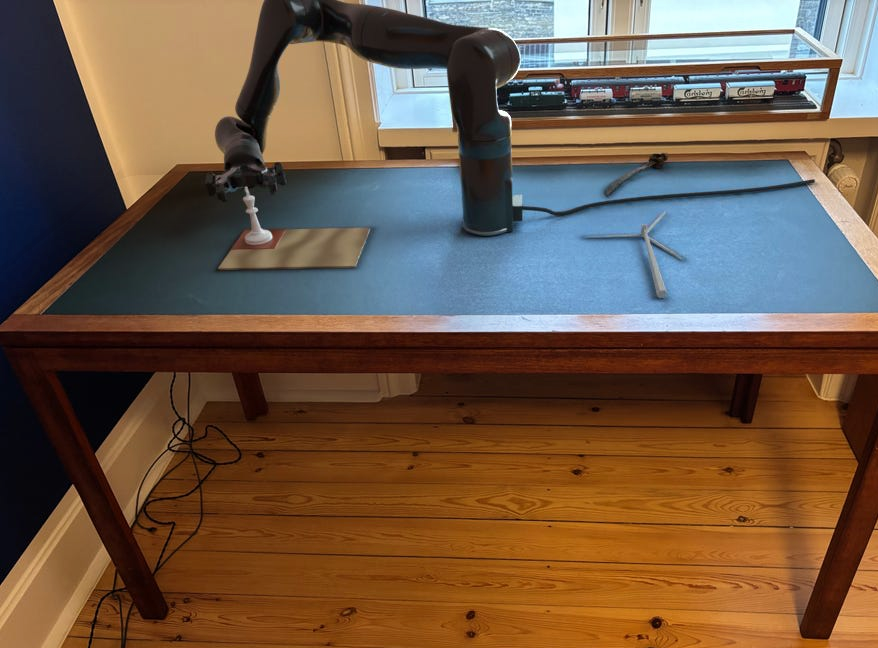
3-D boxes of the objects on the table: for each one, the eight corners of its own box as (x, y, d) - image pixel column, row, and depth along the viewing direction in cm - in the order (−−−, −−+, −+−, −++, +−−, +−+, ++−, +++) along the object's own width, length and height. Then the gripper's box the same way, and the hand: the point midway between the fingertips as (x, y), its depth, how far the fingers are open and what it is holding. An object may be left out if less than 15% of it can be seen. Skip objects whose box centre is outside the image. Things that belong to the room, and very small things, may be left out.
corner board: (370, 229, 135) (370, 226, 135) (355, 267, 123) (355, 265, 122) (245, 232, 136) (245, 229, 136) (218, 270, 124) (217, 267, 124)
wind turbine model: (696, 300, 110) (666, 212, 134) (697, 287, 108) (667, 200, 132) (592, 303, 111) (581, 215, 135) (593, 290, 110) (581, 204, 133)
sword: (608, 197, 141) (609, 187, 140) (593, 193, 144) (594, 183, 142) (675, 160, 156) (676, 151, 154) (661, 157, 158) (662, 147, 157)
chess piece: (248, 247, 130) (234, 194, 124) (242, 237, 133) (229, 185, 128) (275, 240, 132) (263, 188, 126) (268, 230, 135) (256, 179, 129)
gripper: (201, 149, 139) (201, 179, 126) (276, 139, 142) (283, 167, 129) (211, 186, 143) (212, 218, 131) (284, 175, 146) (291, 206, 134)
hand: (247, 193), depth 130 cm, fingers open, 8 cm apart
